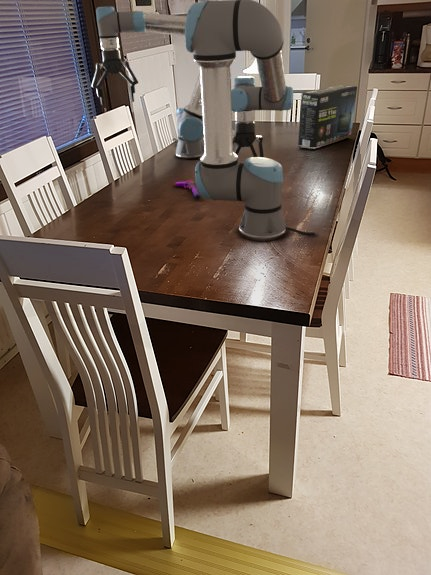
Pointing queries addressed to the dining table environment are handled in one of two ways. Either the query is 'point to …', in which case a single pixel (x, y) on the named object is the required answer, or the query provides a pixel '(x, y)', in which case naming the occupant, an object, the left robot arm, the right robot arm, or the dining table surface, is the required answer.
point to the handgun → (189, 185)
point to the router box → (326, 115)
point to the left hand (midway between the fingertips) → (117, 103)
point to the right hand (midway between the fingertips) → (245, 180)
